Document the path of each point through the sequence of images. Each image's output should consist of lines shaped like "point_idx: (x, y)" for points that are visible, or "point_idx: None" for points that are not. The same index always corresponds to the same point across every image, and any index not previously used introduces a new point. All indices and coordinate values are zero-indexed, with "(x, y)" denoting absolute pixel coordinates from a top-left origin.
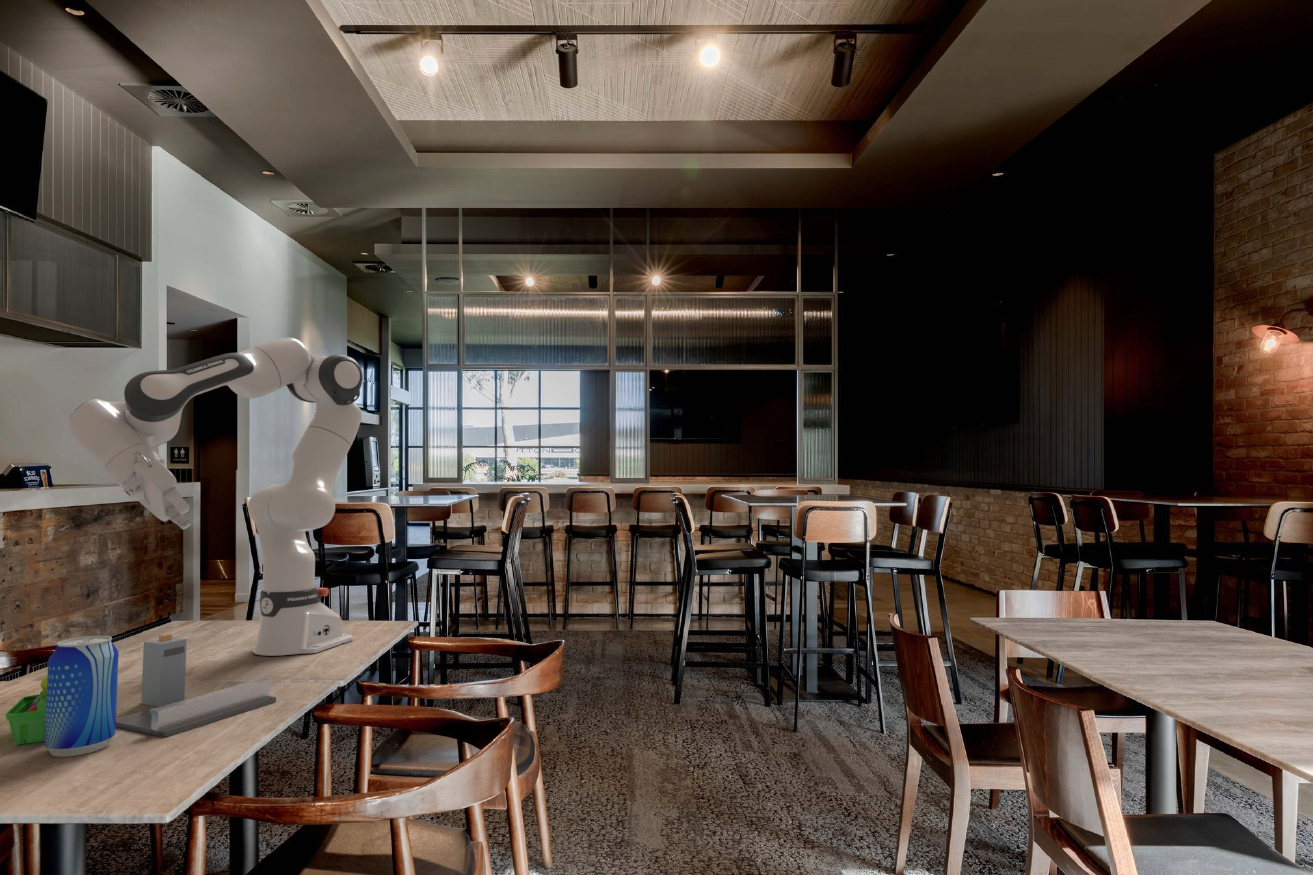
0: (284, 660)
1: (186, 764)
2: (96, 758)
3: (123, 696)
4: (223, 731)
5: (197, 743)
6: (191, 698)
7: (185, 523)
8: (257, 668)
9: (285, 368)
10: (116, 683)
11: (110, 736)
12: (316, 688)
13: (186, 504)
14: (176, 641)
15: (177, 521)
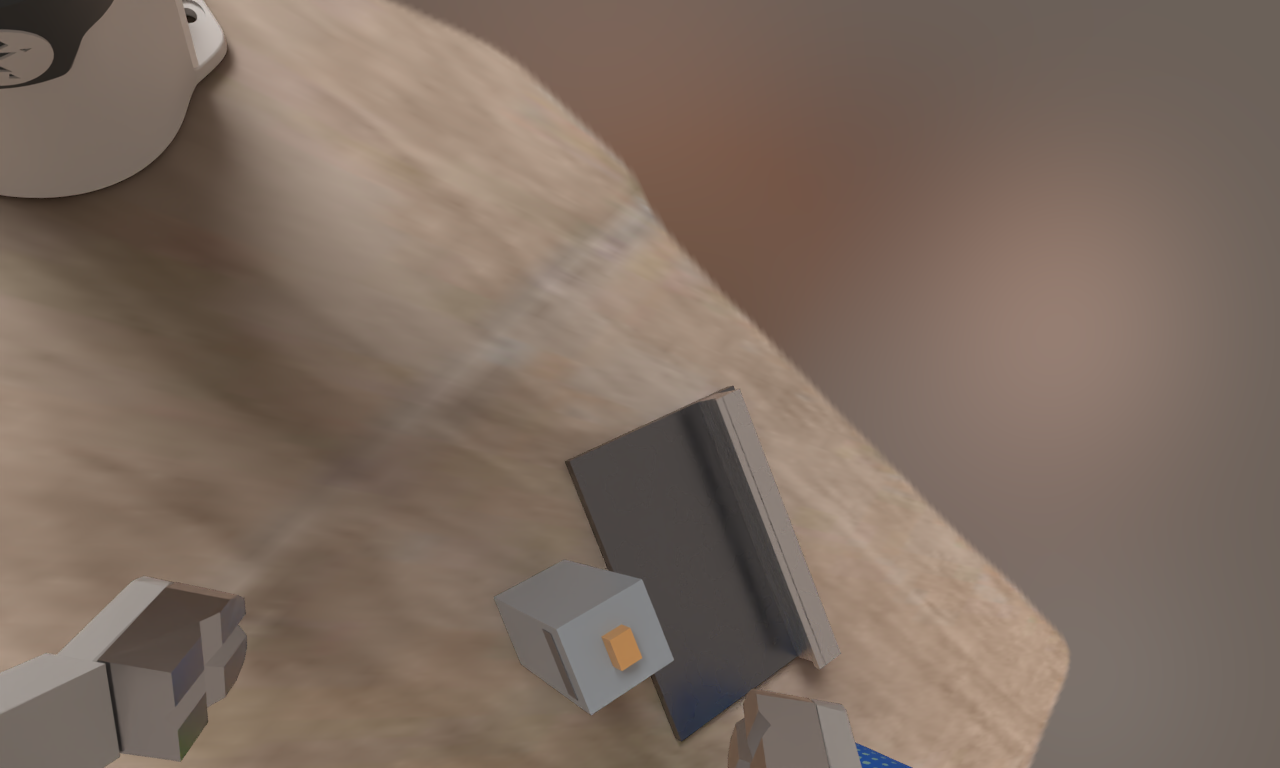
0: (256, 172)
1: (956, 611)
2: None
3: (393, 711)
4: (847, 530)
5: (881, 582)
6: (789, 580)
7: (216, 647)
8: (317, 288)
9: None
10: (900, 763)
11: None
12: (679, 272)
13: (847, 745)
14: (653, 612)
15: (103, 755)
